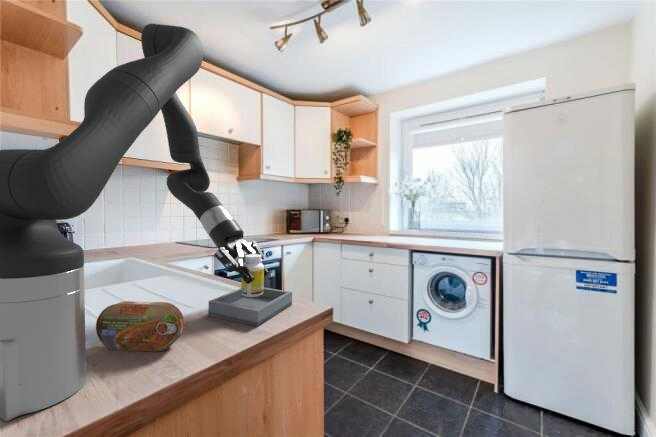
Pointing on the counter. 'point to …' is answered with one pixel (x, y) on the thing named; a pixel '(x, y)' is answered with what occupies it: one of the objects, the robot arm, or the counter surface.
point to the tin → (139, 326)
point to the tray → (250, 306)
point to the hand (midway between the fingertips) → (258, 278)
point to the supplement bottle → (258, 272)
